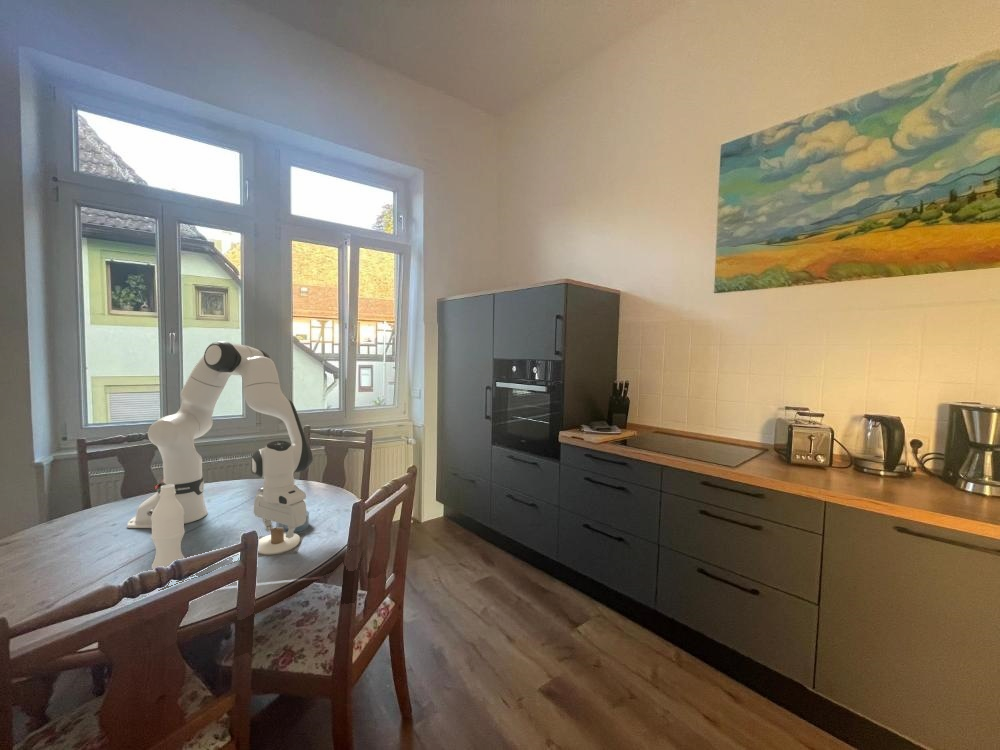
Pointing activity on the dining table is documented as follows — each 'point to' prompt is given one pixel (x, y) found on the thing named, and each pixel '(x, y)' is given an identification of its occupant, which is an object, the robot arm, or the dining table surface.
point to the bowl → (296, 527)
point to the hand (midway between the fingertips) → (279, 534)
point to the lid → (277, 542)
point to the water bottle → (167, 527)
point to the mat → (289, 550)
